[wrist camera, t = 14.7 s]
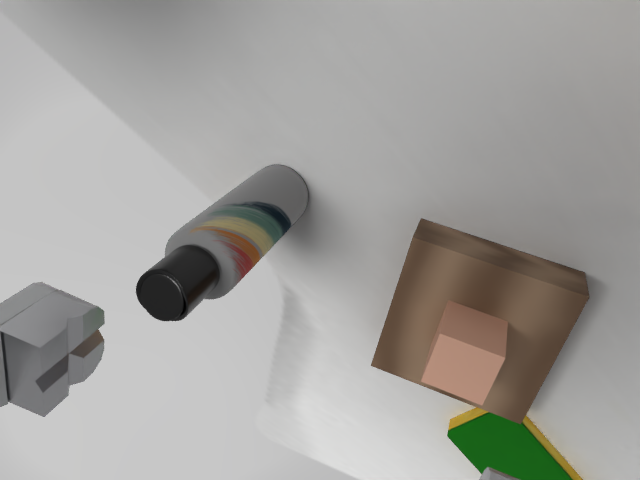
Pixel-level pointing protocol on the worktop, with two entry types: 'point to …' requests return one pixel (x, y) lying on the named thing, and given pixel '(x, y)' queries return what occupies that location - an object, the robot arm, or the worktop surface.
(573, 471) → the dish sponge
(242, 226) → the lotion bottle
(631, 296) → the worktop surface
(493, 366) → the terracotta block
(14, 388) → the robot arm
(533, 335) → the walnut plinth
